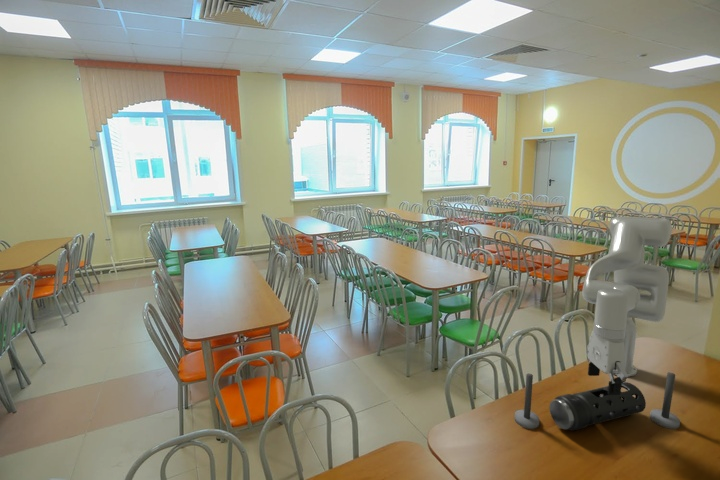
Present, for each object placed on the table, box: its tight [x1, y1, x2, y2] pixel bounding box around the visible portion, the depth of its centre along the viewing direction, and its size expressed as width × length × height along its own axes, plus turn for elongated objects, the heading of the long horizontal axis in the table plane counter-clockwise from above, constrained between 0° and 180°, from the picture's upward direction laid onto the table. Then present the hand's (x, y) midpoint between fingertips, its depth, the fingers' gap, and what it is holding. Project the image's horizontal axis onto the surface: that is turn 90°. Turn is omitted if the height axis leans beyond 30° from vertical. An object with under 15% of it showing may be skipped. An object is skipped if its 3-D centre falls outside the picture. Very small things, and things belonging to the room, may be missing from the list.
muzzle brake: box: [549, 381, 647, 431], centre depth 111 cm, size 10×28×10 cm, turn 105°
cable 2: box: [649, 372, 681, 430], centre depth 109 cm, size 7×7×16 cm
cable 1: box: [514, 373, 540, 430], centre depth 111 cm, size 7×7×16 cm
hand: (603, 384), depth 107 cm, fingers open, 9 cm apart
